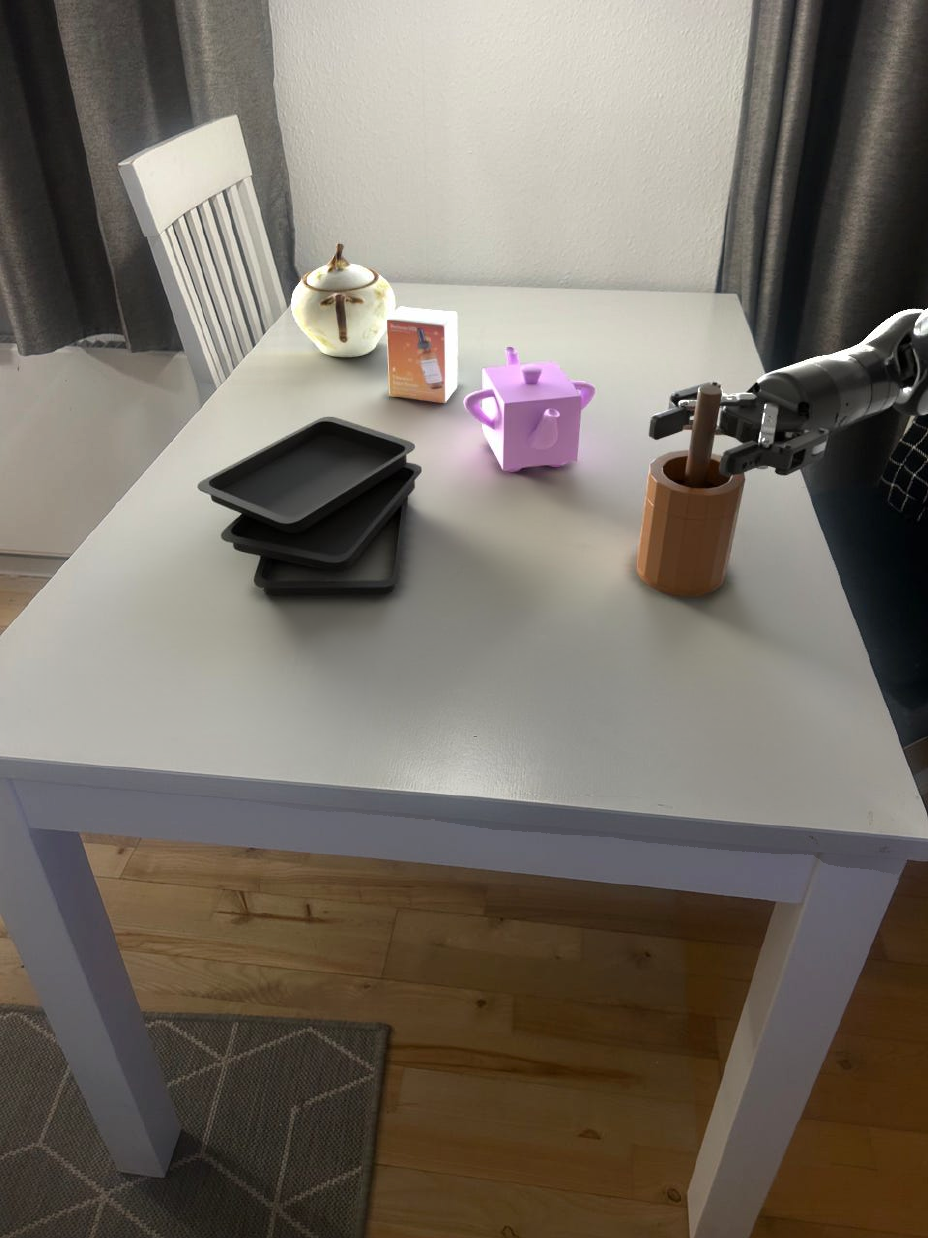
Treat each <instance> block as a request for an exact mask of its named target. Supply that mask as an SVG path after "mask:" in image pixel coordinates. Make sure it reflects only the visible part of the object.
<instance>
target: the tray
mask: <svg viewBox="0 0 928 1238" xmlns="http://www.w3.org/2000/svg"><path fill="white" fill-rule="evenodd" d="M415 449H416V445H415V444H414V443H413V442H412V441H409V440H407V439H404V438H401V437H397V436H394V435H391V434H388V433H385V432H381V431H379V430H376V429H373V428H369V427H366V426H363V425H361V424H357V423H355V422H351V421H348V420H345V419H342V418H338V417H336V416H335V417H334V416H324V417H320V418H318V419H316V420H314V421H312V422H310V423H308V424H306V425H305V426H302V427H301V428H298V429H297V430H295V431H293V432H291V433H290V434H287V435H286V436H284V437H282V438H279V439H277V440H276V441H274V442H273V443H270V444H269V445H266V446H265V447H263V448H261V449H259V450H257V451H256V452H253V453H252V454H250V455H248V456H245V457H244V458H242V459H240V460H238V461H236V462H235V463H233V464H231V465H229V466H227V467H225V468H223V469H221V470H220V471H218V472H215V473H214V474H212V475H210V476H208V477H206V478H204V479H202V480H201V481H199V482H198V484H197V486H196V487H197V489H198V490H199V491H200V492H202V493H204V494H207V495H209V496H210V499H211V501H212V502H213V503H216V504H218V505H220V506H222V507H225V508H227V509H229V510H232V511H235V512H236V513H239V514H240V515H238V517H236V518H235V519H234V520H233V521H232V522H231V523H230V524H228V526H226V527H225V528H224V529H223V530H222V532H221V533H220V538H221V540H223V541H224V542H227V543H230V544H232V546H233V549H234V550H235V551H238V552H241V553H244V554H250V555H254V556H259V557H260V558H259V561H258V564H257V567H256V571H255V574H254V577H253V584H254V585H255V586H256V587H258V588H261V589H262V590H263V592H264V593H265V594H267V595H272V596H381V595H382V596H383V595H387V594H390V593H392V592H393V591H394V590H395V589H396V586H397V584H398V583H399V581H400V578H401V568H402V560H403V559H402V558H403V548H404V539H405V531H406V530H405V529H406V521H407V511H408V503H409V496H411V494H412V493H413V492H414V490H415V488H416V479H417V478H418V477H419V476H420V475H421V473H422V471H423V468H422V466H421V465H419V464H416V463H412V462H407V461H408V460H407V455H409V454H410V453H412V452H413V451H414V450H415ZM400 507H401V512H400V518H399V528H398V537H397V545H396V553H395V563H394V571H393V574H392V576H391V577H388V578H385V579H377V580H367V579H365V580H269V579H267V578H268V574H269V571H270V568H271V564H272V561H273V560H278V561H282V562H287V563H293V564H297V565H302V566H307V567H311V568H316V569H320V570H325V571H330V572H342V571H345V570H348V569H349V568H350V567H351V566H352V565H353V564H354V563H355V561H356V560H357V559H358V558H359V557H360V556H361V554H362V553H363V552H364V551H365V550H366V548H367V547H368V546H369V544H370V543H372V541H373V540H374V538H375V537H377V535H378V534H379V532H380V531H381V530H382V529H383V528H384V526H386V524H387V523H388V522H389V520H390V519H392V517H393V516H394V515H395V514H396V512H397V511H398V510H399V508H400Z"/></svg>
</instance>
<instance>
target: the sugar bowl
mask: <svg viewBox="0 0 928 1238" xmlns="http://www.w3.org/2000/svg"><path fill="white" fill-rule="evenodd" d="M344 248H345V245H344V243H342V242H337V243H336V245H335V252H334V254H333V256H332V258H331V260H330V261H328V263H327V264H325V265H323V266H320V267H319V268H315V269H313V270H311V271H308V272H307V273H305V274H304V275H303V276H302V278H301V279H300V282H299V283H298V284H297V286H296V287H295V289H294V290H293V292H292V296H291V301H290V302H291V303H290V304H291V305H290V306H291V312H292V316H293V318H294V321H295V322H296V324H297V325H298V326H299V328H300V329H301V331H303V333H304V334H305V335H306V336H307V337H308V338H309V339H310V340H311V341H312V342H313V343H314V344H315V345H316V347H318V349H319V350H320V352H322V353H323V354H325V355H327V356H331V357H335V358H355V357H360V356H364V355H368V354H369V353H371V352H372V351H374V350H375V349H376V347H377V345H378V343H379V341H380V340H381V338H382V337H383V335H384V334H385V332H386V331H387V324H386V321H387V319H388V318H389V317H390V316H391V315H392V314H393V313H394V312H395V311H396V310H395V309H396V297H395V293H394V291H393V288H392V287H391V285H390V283H389V282H388V280H386V279H385V278H384V277H383V276H381V275H380V274H379V272H378V271H377V270H375V269H374V268H371V267H369V266H364V265H359V264H354V263H350V262H349V261H348V260H347V258H346V256H345V255H343V251H344Z"/></svg>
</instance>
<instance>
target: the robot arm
mask: <svg viewBox="0 0 928 1238" xmlns="http://www.w3.org/2000/svg"><path fill="white" fill-rule="evenodd" d="M706 385H710V386H716V387H719V388H721V387H722V383H721V382H719V381H717V380H716V381H715V380H712V381H711V380H710V381H708V382H704V383H701V384H697V385H694V386H689V387H686V388H684V389H679V390H676V391H672V392H670V394H669V400H668V405H667V406H668V407H667V409H666V410H663V411H660V412H658V413H654V414H653V415H651V418H650V422H649V428H648V437H649V438H651V439H652V440H654V441H659V440H661V439H664V438H666V437H669V436H672V435H675V434H678V433H682V432H683V431H692V427H693V420H694V419H691V418H692V417H694V414H695V408H696V401H697V395H698V389H699V388H700V387H701V386H706ZM721 389H722V388H721ZM891 406H892V407H893V408H894V409H895V410H896V411H897V412H898V413H900V414H903V415H906V416H911V417H919V416H925V415H927V414H928V308H927V309H925V310H923V309H919V308H918V309H916V308H912V309H907V310H903V311H900V312H898V313H896V314H893V316H891V317H890V318H887V319H886V320H885V321H884V322H882V323H881V324H880V325H878V326H877V327H876V328H875V329H874V330H873V331H872V332H871V333H870V334H868V336H867V337H866V338H865V339H864V340H863V341H861V342H860V343H859V344H857V345H854V346H852V347H850V348H847V349H844V350H841V351H838V352H835V353H832V354H828V355H822V356H821V355H820V356H815V357H813V358H809V359H805V360H804V361H800V362H797V363H794V364H791V365H789V366H786V367H782V368H779V369H776V370H773V371H770V372H768V373H765V374H763V375H762V376H760V377H759V378H758V379H757V380H755V382H754V383H753V384H752V385H751V386H750V388H748V390H747V391H745V392H737V393H731V394H729V395H728V394H726V393H723V392H722V397H721V403H720V409H721V410H720V412H719V417H718V424H717V426H716V432H715V436H726V437H730V438H733V439H735V440H737V441H738V442H739V443H740V444H739V445H737V446H734V447H732V448H729V449H727V450H725V451H724V452H723V453H722V454H721V455H720V456H721V461H720V467H719V474H721V475H723V476H725V477H729V476H732V475H737V474H742V473H744V474H745V473H747V472H749V471H752V470H754V469H757V470H767V469H768V468H773V469H774V473H775V474H776V475H778V476H783V477H785V476H789V475H790V474H792V473H795V472H797V471H799V470H801V469H803V468H806V467H807V466H809V465H811V464H813V463H815V462H817V461H820V460H822V459H823V458H824V453H825V450H826V446H827V442H828V438H829V437H830V436H834V435H836V434H838V433H840V432H842V431H843V430H845V429H847V428H849V427H851V426H852V425H853V424H855V423H858V422H861V421H863V420H866V419H868V418H871V417H874V416H877V415H879V414H880V413H881V414H882V413H883V412H884V411H885V410H888V409H889V408H890V407H891Z"/></svg>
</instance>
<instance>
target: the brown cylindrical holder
mask: <svg viewBox="0 0 928 1238" xmlns="http://www.w3.org/2000/svg"><path fill="white" fill-rule="evenodd" d="M688 452H689V449H683V450H675V451H669V452H666V453H664V454H662V455H659V456H657V457H655V458H654V459H653V460H652V461H651V462H650V464H649V465H648V472H647V473H648V474H647V482H646V488H645V498H644V504H643V512H642V519H641V527H640V535H639V542H638V549H637V563H636V572H637V575H638V576H639V578H640V579H641V580H642V582H644V584H645V585H647V586H649V587H650V588H652V589H654V590H656V591H658V592H660V593H664V594H667V595H672V596H675V597H676V596H677V597H700V596H704V595H708V594H711V593H713V592H715V591H717V590H718V589H719V588H720V587H721V586H722V585H723V584H724V581H725V578H726V575H727V572H728V567H729V562H730V558H731V557H730V556H731V552H732V548H733V547H732V546H733V542H734V539H735V533H736V528H737V523H738V519H739V513H740V508H741V502H742V498H743V494H744V487H745V483H746V475H745V472H744V473H742V474H737V475H732V476H729V477H725V476H723V475H721V474H719V467H720V461H721V456H722V455H720V454H717V453H713V452H712V455H711V460H710V466H709V472H708V478H707V483H706V489H698V488H690V487H686V486H683V484H684V478H685V471H686V465H687V459H688Z"/></svg>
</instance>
